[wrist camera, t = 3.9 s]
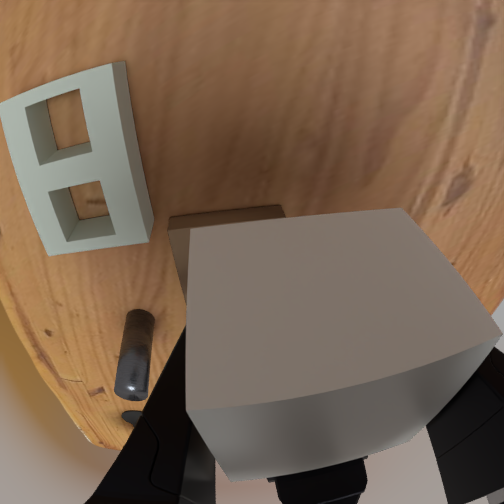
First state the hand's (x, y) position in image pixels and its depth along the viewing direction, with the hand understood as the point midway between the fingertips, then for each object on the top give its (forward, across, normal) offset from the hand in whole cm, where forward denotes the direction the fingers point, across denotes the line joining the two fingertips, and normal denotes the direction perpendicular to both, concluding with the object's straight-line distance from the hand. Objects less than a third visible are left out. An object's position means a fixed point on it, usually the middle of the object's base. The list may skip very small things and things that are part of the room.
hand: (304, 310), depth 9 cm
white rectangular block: (0, 0, 0) cm, 0 cm away
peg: (+11, +10, +12) cm, 19 cm away
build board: (+11, +10, -2) cm, 15 cm away
